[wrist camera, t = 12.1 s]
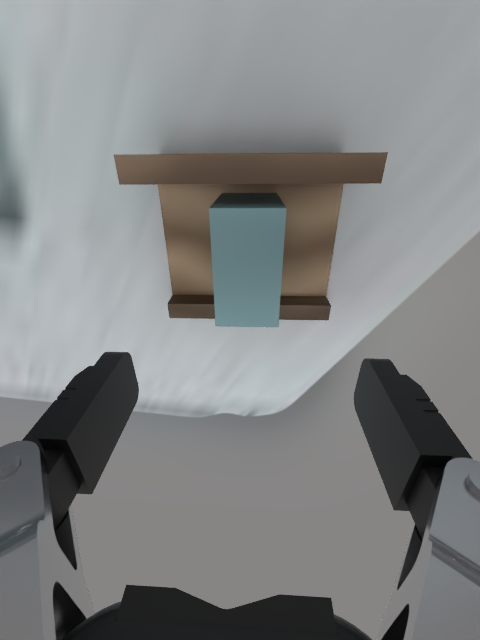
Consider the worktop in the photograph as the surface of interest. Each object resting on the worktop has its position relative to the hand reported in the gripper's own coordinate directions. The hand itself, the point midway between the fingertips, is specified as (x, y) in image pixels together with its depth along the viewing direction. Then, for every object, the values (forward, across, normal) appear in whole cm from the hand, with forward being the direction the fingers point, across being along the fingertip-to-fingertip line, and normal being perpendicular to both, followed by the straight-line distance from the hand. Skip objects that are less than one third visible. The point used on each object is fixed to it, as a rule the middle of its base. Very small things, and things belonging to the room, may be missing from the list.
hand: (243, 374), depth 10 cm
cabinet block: (+18, 0, 0) cm, 18 cm away
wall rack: (+19, 0, -1) cm, 19 cm away
